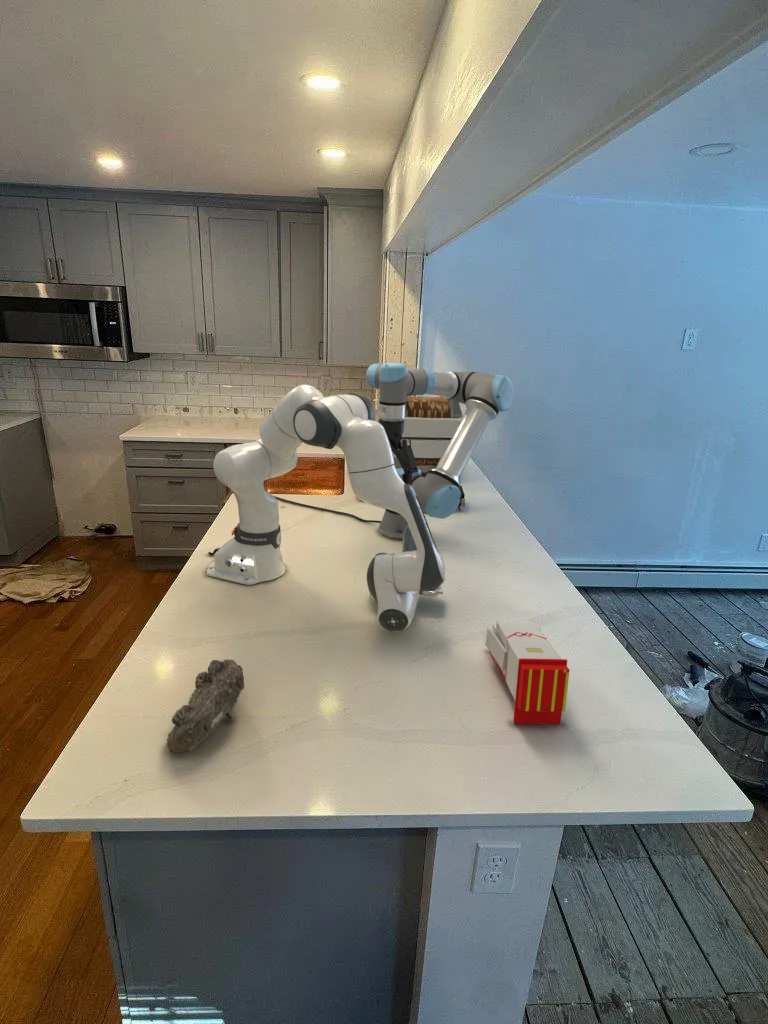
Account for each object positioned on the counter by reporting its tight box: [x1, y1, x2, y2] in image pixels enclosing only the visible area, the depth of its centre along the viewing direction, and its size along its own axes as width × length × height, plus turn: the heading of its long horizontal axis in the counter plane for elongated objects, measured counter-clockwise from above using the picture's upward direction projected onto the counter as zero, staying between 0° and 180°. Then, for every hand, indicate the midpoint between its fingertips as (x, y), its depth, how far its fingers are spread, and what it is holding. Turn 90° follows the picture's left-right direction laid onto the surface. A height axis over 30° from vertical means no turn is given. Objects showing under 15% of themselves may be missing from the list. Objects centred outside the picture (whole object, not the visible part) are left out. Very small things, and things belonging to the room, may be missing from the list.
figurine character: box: [457, 484, 466, 511], centre depth 229 cm, size 7×8×15 cm
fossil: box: [166, 658, 245, 754], centre depth 106 cm, size 22×10×15 cm
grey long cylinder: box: [401, 524, 417, 552], centre depth 158 cm, size 5×5×19 cm
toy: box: [485, 620, 570, 725], centre depth 121 cm, size 12×13×30 cm
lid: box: [374, 552, 389, 557], centre depth 177 cm, size 5×5×2 cm
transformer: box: [392, 395, 463, 483], centre depth 268 cm, size 34×33×41 cm
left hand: (409, 568), depth 160 cm, fingers open, 8 cm apart
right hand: (388, 489), depth 170 cm, fingers open, 13 cm apart
